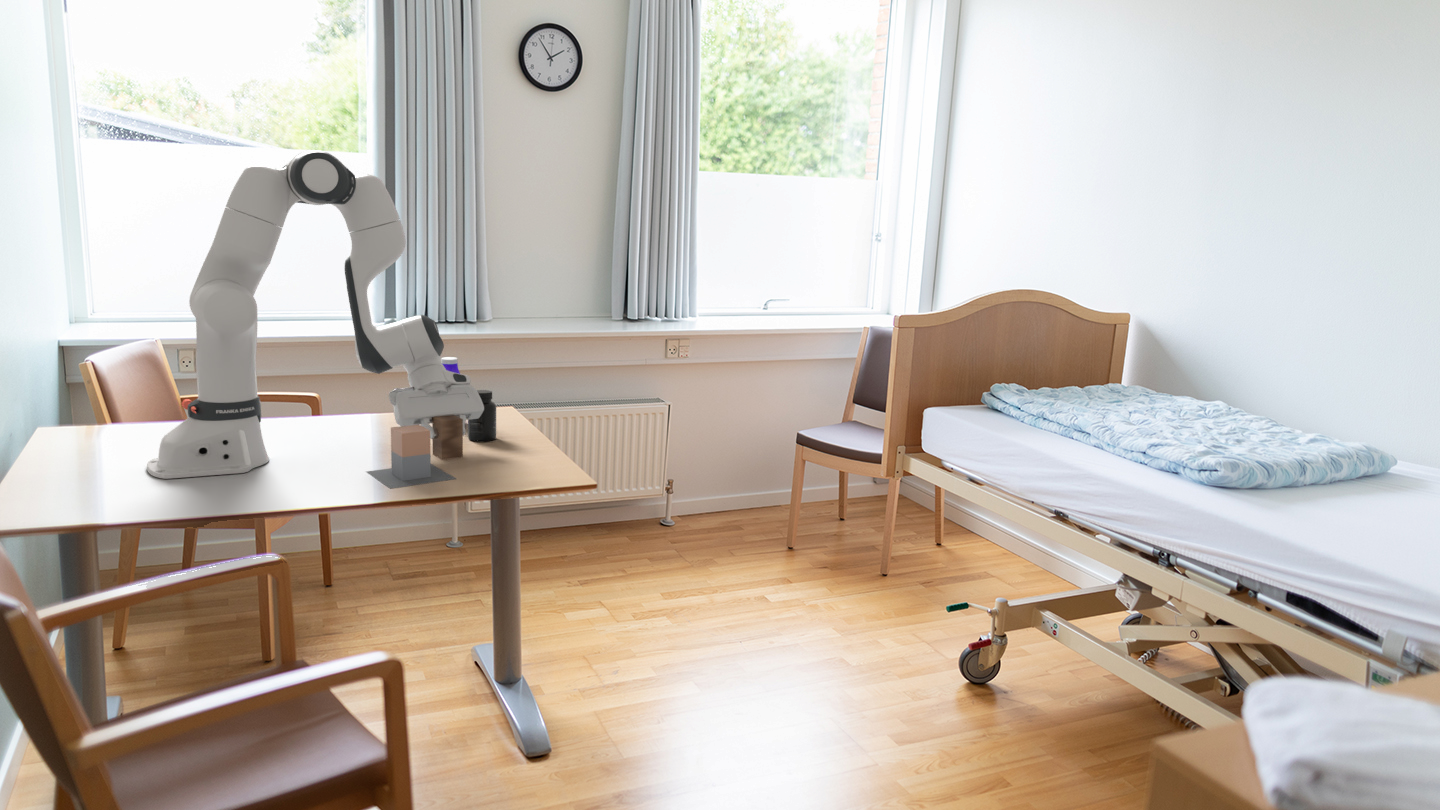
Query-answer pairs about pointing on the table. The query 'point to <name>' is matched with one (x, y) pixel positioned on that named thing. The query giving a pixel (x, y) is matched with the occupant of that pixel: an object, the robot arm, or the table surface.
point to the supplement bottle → (484, 420)
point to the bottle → (450, 364)
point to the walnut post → (448, 437)
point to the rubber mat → (394, 482)
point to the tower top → (410, 440)
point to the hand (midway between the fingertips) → (448, 436)
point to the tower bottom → (411, 466)
